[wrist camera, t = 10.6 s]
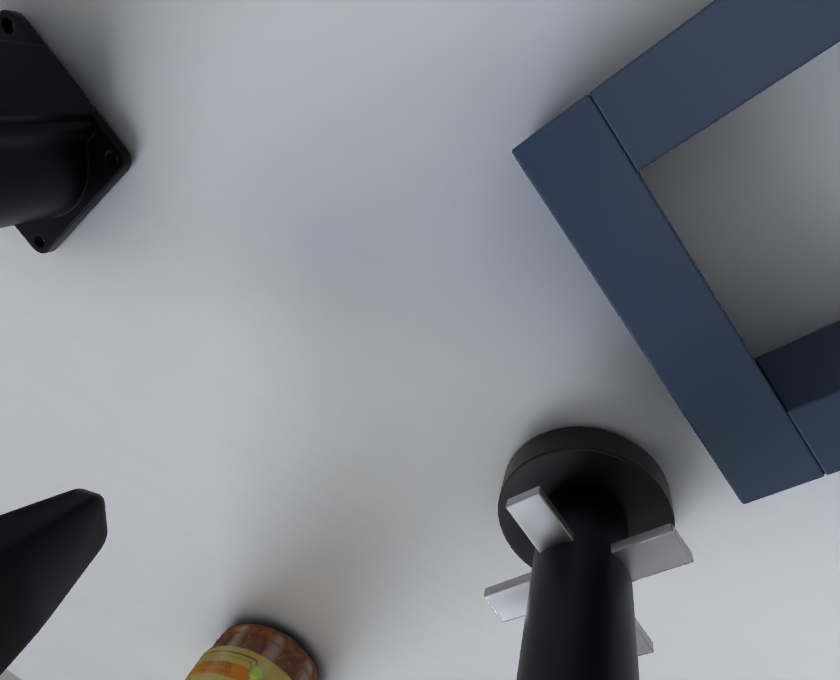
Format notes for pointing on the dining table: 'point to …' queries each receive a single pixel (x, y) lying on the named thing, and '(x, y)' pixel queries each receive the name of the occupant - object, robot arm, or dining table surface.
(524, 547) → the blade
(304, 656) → the sauce bottle
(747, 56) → the blue square frame
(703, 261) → the dining table surface
